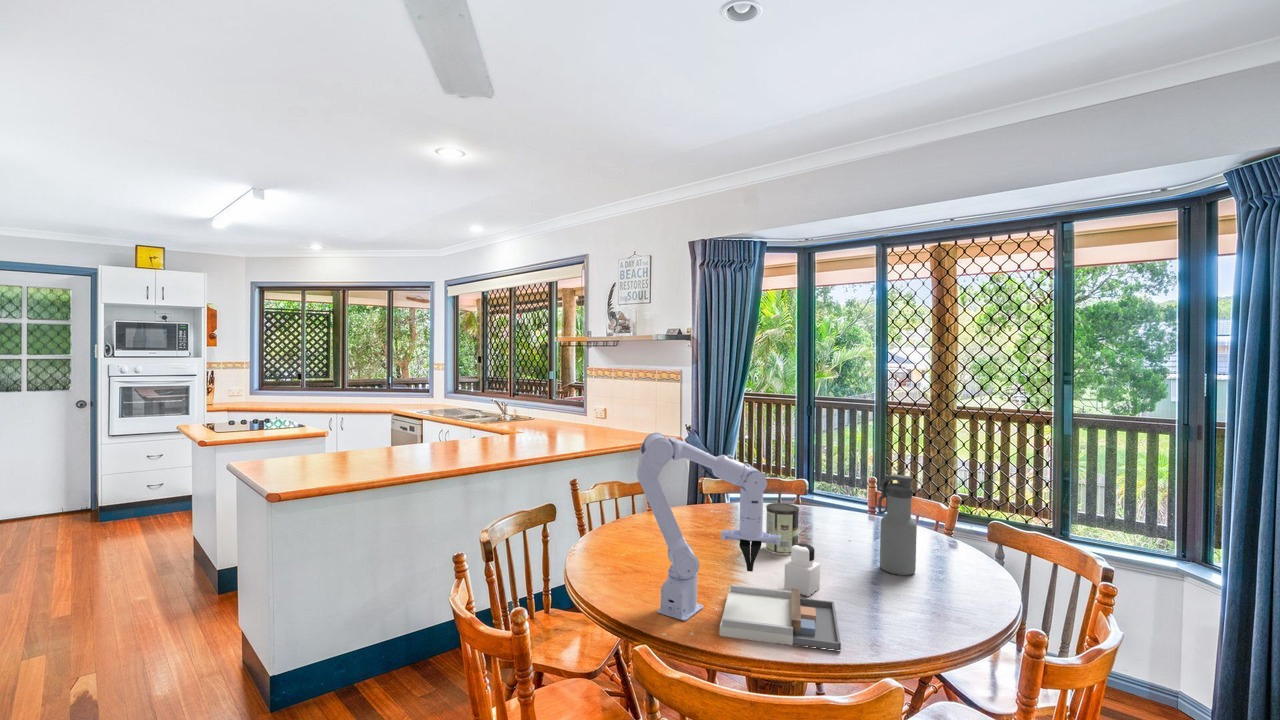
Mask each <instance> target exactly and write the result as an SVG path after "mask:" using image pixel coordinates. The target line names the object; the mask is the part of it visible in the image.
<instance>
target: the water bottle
mask: <svg viewBox="0 0 1280 720" xmlns="http://www.w3.org/2000/svg"><path fill="white" fill-rule="evenodd" d="M890 481H898V482H893V483H889V482H890ZM912 482H913V477H912V476H909V475H903V474H895V473H894V474H890V475H887V476H885V477H883V478H882V479H881V481H880V482H879V488H878V489H879V490H880V491H881V494H880V497H879V498H878V508H877V509H878V510H877V511H878V514H880V515H882V514H885V513H886V515H883V516H882V518H881V519H880V542H879V567H880V569H881V570H883V571H884V570H885V572H886V571H887V572H886V573H888V572H890V573H889V574H891V573H893V574H892V575H895V574H900V575H899V576H903V575H904V576H910V574H911V575H913V574H915V572H916V567H917V566H916V565H917V562H916V561H917V535H918V534H917V528H918V525H917V524H918V523H917V522H916V521H915V520H914V519H913V518H912V499H913V491H914V490H913V489H914V488H913V487H912ZM883 499H885V500H886V501H885V508H884V509H883V510H882V501H883Z"/></svg>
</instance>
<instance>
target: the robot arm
mask: <svg viewBox="0 0 1280 720" xmlns="http://www.w3.org/2000/svg"><path fill="white" fill-rule="evenodd" d="M672 459H673V461H677V460H680V459H686V460H688V461H692V462H693V463H696V464H699V465H701V466H704V467H706V468H709V469H711V472H712V475H713V476H714V477H716V478H719V479H721V480H723V481H726V482H727V483H729V484H731V485H734V486H736V487H737V486H738V487H740V495H739V529H733V530H731V529H721V534H720V537H721V538H720V540H723V541H726V540H731V541H739V544H738V545H739V548H740V550H741V553H742V555H743V559H744V560H745V561H744V563H745V566H746V572H749V573H750V572H752V573H753V572H754V571H753V570H754V565H755V562H756V558H757V557H758V554H759V552H760V551H761V549H762V548H761V547H762V544H766V543H772V544H776V545H780V541H781V535H775V534H770V533H766V531H765V532H764V531H763V529H764V527H763V526H764V525H763V522H764V521H763V520H764V518H763V517H764V492H765V490H766V489H767V487H768V481H767V480H766V477H765V474H764V473H762V472H761V471H760V470H758V469H757V468H755V467H753V466H752V465H751V464H749V463H748V462H745V463H743V462H740V461H738V460H736V459H734V456H733V455H731V454H730V453H729V454H727V455H725V454H721V455H717V456H714V455H712V454H710V453H708V452H706V451H704V450H702V449H701V448H699V447H696V446H695V445H694V446H693V445H692V444H690V443H687V442H685V441H684V440H682V439H678V438H676V437H672V436H668V435H666V436H665V435H664V434H662V433H660V432H651V433H649V434H648V435H647V436H646V437H645V438H644V440H643V442H642V443H641V446H640V447H639V457H638V463H637V469H636V477H637V480H638V482H639V484H640V486H641V489H642V491H643V493H644V495H645V498H646V501H647V503H648V505H649V507H650V509H651V512H652V514H653V516H654V518H655V519H654V520H656V523H657V526H658V528H659V530H660V533H661V534H662V536H663V539H664V541H665V544H666V546H667V557H668V559H669V562H670V563H671V564H670V566H669V568H668V570H667V571H668V572H667V573H668V574H667V578H666V580H665V581H664V582H663V583H662V585H661V587H660V607H659V609H657V613H658V614H661V615H665V616H667V617H670V618H674V619H678V620H680V621H683V622H684V621H685V622H686V621H687V620H689V619H690V618H691V617H693V616H694V615H695V614H698V612H700V611H701V610H702V609H703V608H704V605H703V604H701V603H698V573H699V570H700V561H699V559H698V558H697V555H695V553H694V552H693V549H692V546H691V545H690V544H689V543H688V542H686V540H685V537H684V536H683V533H682V531H681V529H680V525H678V522H677V519H676V517H675V515H674V512H673V511H672V507H671V506H670V503H669V500H668V498H667V496H666V494H665V492H664V490H663V487H662V486H661V482H660V481H659V476H660V474H661V471H662V470H663V468H664V467H665V466H666V465H667V464H668V463H669V462H670V461H671V460H672Z"/></svg>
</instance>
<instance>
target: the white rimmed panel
mask: <svg viewBox="0 0 1280 720" xmlns="http://www.w3.org/2000/svg"><path fill="white" fill-rule="evenodd" d="M719 636H720V637H727V638H733V639H740V640H747V639H750V640H749V641H755V640H758V641H757V642H762V641H763V642H764V643H771V644H777V643H780V644H779V645H784V644H789V645H788V646H792V645H793V627H791V591H787V590H785V589H776V588H767V587H761V586H760V587H758V586H750V585H741V584H732V583H731V584H730V588H729V589H728V594H727V597H726V600H725V604H724V610H723V612H722V617H721V620H720V625H719ZM763 642H762V643H763Z"/></svg>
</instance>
